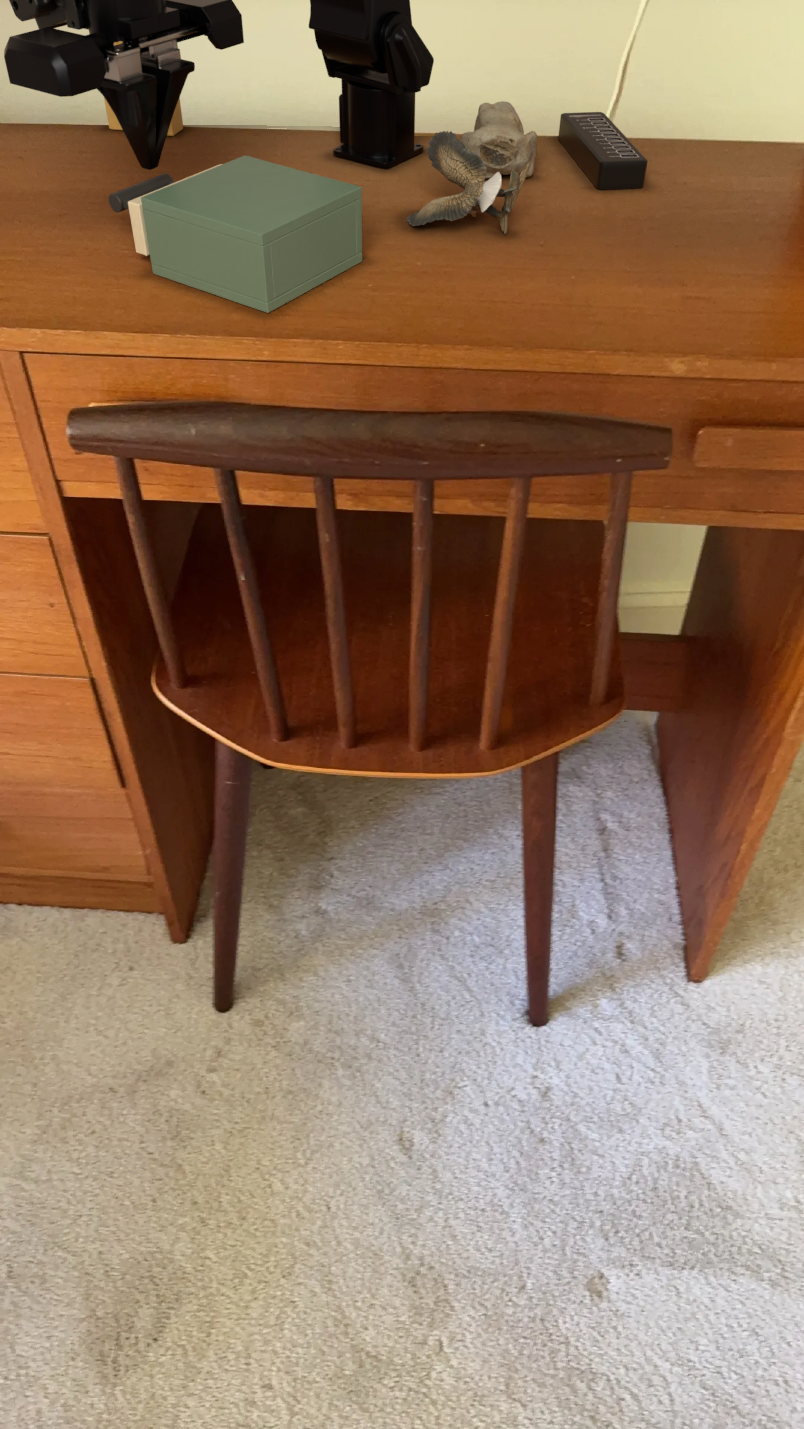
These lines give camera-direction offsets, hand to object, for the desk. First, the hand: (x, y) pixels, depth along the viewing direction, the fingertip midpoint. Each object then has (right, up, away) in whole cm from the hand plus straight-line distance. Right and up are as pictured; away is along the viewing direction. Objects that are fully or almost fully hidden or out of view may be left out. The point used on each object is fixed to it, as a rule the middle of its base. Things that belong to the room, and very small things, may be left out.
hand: (149, 167), depth 82 cm
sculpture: (+29, +9, +17) cm, 35 cm away
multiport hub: (+39, +10, +18) cm, 44 cm away
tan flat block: (-6, +16, +23) cm, 28 cm away
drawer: (+5, -5, +1) cm, 7 cm away
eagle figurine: (+25, -2, +6) cm, 26 cm away
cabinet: (+9, -8, -1) cm, 12 cm away
